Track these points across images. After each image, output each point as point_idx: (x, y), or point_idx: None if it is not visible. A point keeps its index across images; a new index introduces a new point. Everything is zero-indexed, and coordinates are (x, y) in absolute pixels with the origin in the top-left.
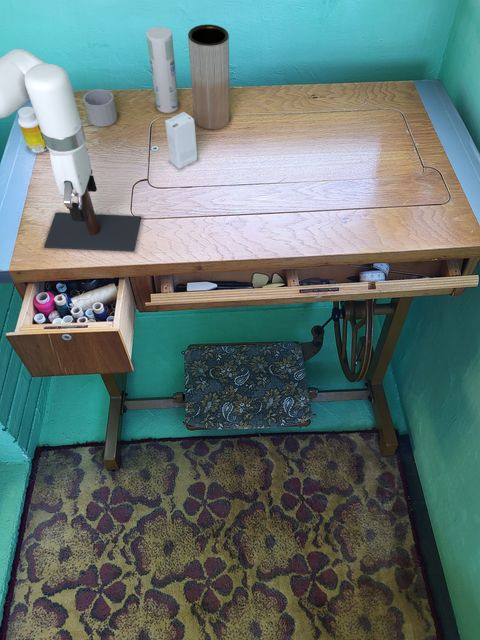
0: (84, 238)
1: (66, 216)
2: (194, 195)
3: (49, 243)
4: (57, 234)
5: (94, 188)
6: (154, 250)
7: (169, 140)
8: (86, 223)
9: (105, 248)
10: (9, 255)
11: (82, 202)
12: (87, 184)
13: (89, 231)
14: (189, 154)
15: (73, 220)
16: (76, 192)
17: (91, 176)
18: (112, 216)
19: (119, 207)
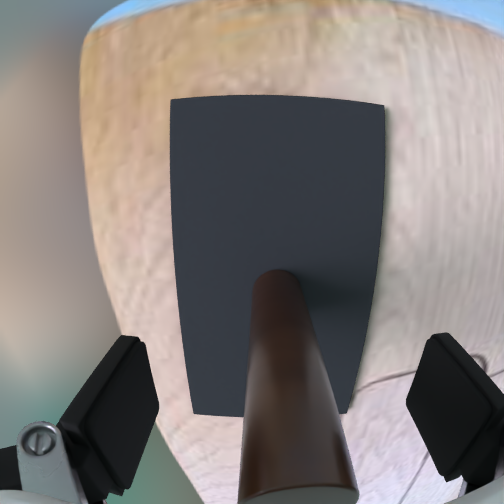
0: (230, 259)
1: (364, 155)
2: (399, 469)
3: (189, 115)
4: (247, 135)
5: (413, 417)
6: (209, 444)
7: None
8: (257, 303)
9: (185, 343)
10: (138, 4)
11: (243, 429)
12: (438, 410)
13: (256, 286)
14: None
15: (122, 337)
16: (251, 494)
17: (453, 476)
18: (357, 340)
19: (404, 343)
